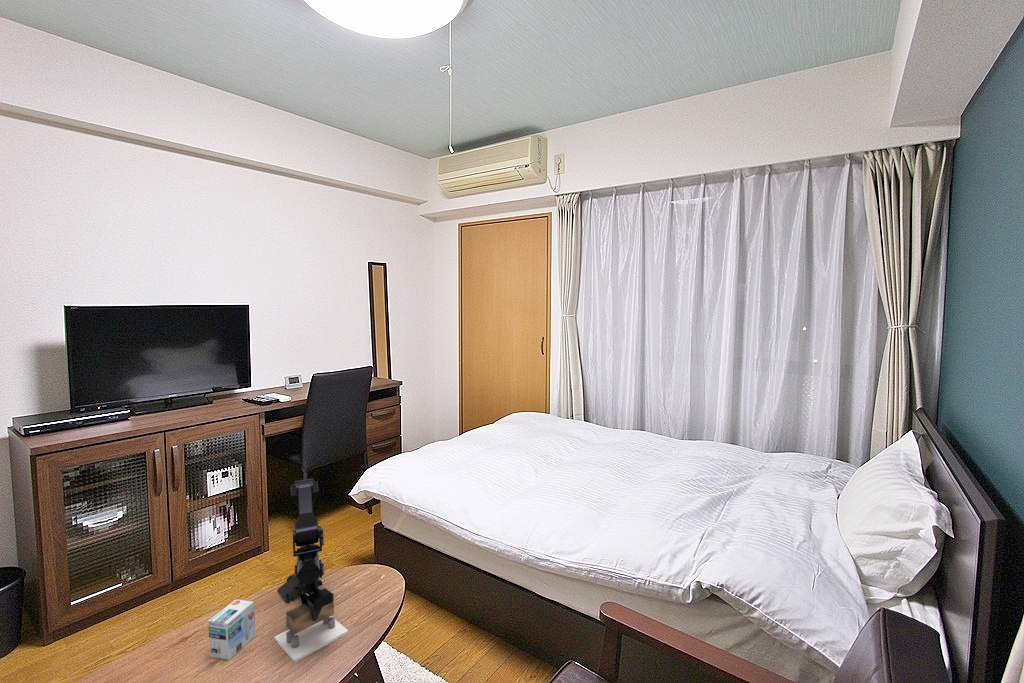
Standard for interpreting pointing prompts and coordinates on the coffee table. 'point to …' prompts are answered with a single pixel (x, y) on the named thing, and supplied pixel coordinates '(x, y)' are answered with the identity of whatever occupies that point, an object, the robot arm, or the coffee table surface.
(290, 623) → the walnut board
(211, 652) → the light bulb box
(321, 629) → the peg stand
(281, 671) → the coffee table surface
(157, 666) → the coffee table surface
